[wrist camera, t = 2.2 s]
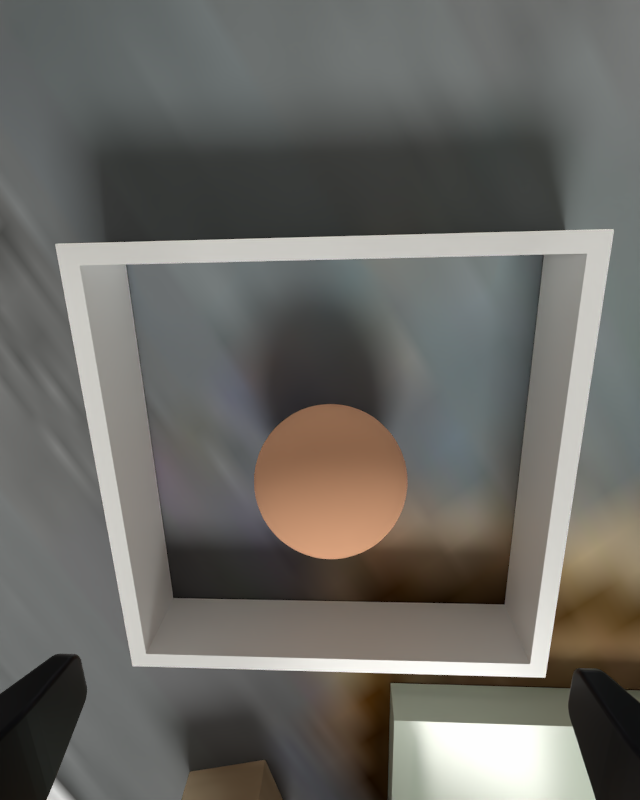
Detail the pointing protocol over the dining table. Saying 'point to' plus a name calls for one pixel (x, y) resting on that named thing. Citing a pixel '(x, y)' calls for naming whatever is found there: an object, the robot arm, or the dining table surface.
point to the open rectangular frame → (340, 620)
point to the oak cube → (232, 783)
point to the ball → (330, 481)
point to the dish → (484, 744)
